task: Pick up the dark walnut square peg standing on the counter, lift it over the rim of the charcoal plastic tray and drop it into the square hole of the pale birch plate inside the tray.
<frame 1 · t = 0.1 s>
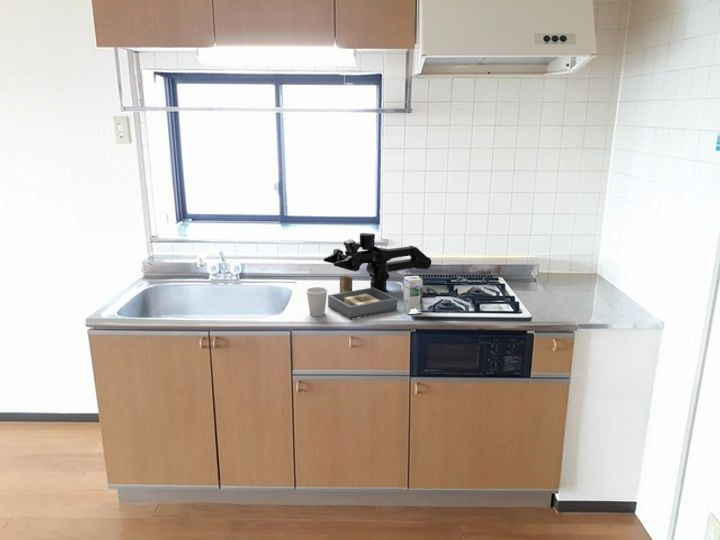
hand: (328, 262, 226), 17 cm above the countertop, tool horizontal, fingers open, 9 cm apart
syrup box: (412, 312, 215), on the countertop
dixie cup: (317, 314, 212), on the countertop
charcoal tray: (362, 308, 219), on the countertop
walnut peg: (346, 296, 234), on the countertop
birch bore plate: (362, 302, 218), in the charcoal tray, point 2 cm above the countertop
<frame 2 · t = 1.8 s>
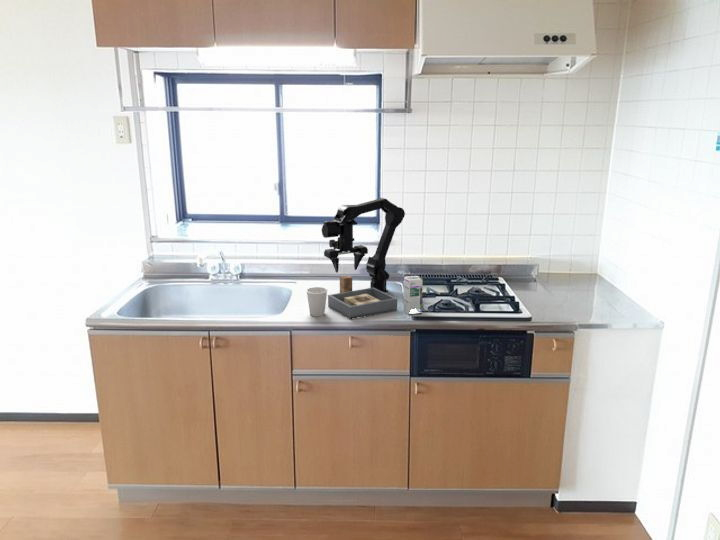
hand: (346, 271, 231), 12 cm above the countertop, tool pointing down, fingers open, 9 cm apart
nothing on the countertop moved.
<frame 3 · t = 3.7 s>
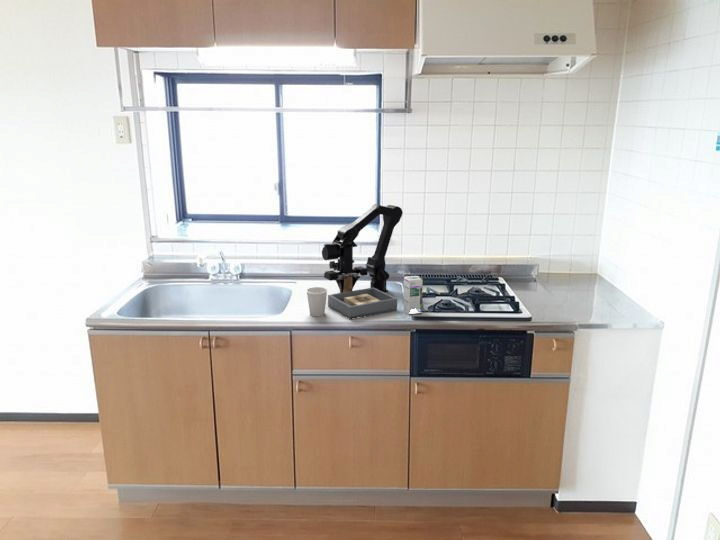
hand: (346, 292, 234), 2 cm above the countertop, tool pointing down, fingers closed on walnut peg, 4 cm apart
walnut peg: (346, 296, 234), on the countertop, touching gripper
everything else where it was.
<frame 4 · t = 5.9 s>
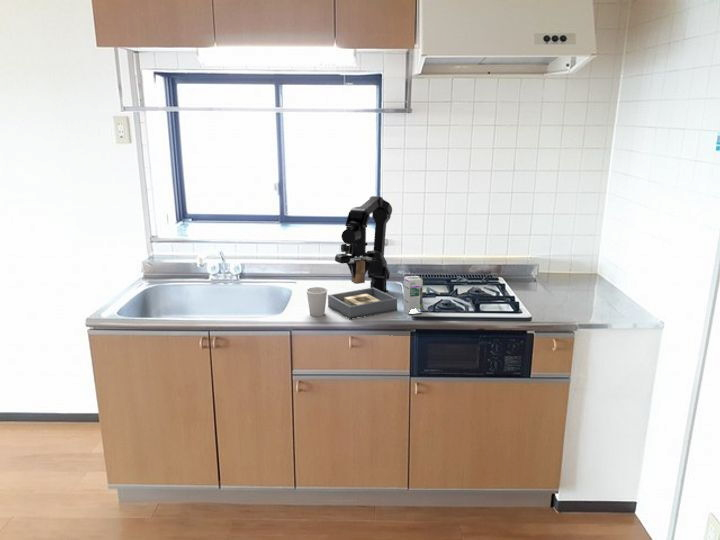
hand: (358, 277, 219), 12 cm above the countertop, tool pointing down, fingers closed on walnut peg, 4 cm apart
walnut peg: (358, 282, 219), point 10 cm above the countertop, touching gripper
everything else where it was.
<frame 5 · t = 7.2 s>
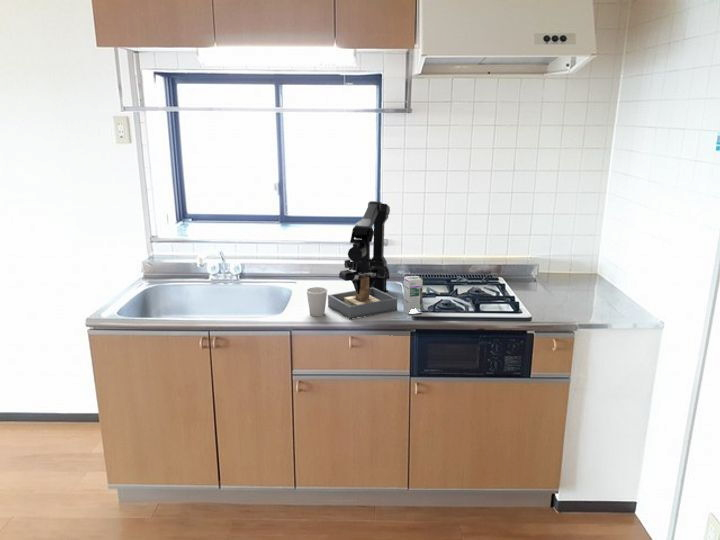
hand: (362, 293, 217), 6 cm above the countertop, tool pointing down, fingers closed on walnut peg, 4 cm apart
walnut peg: (362, 298, 218), point 4 cm above the countertop, touching gripper
everything else where it was.
when the fingers open (5 cm above the countertop, at t = 8.2 s): walnut peg drops 2 cm, resting on charcoal tray.
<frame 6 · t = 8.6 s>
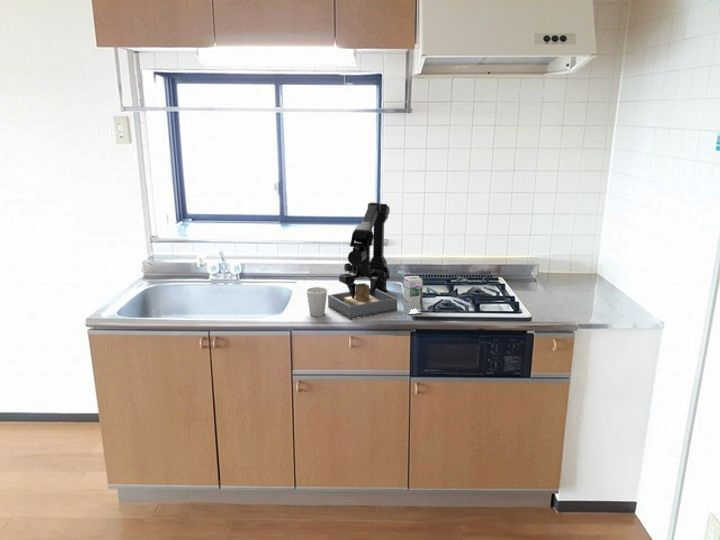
hand: (362, 296, 218), 5 cm above the countertop, tool pointing down, fingers open, 8 cm apart
walnut peg: (362, 306, 219), point 1 cm above the countertop, touching charcoal tray
everything else where it was.
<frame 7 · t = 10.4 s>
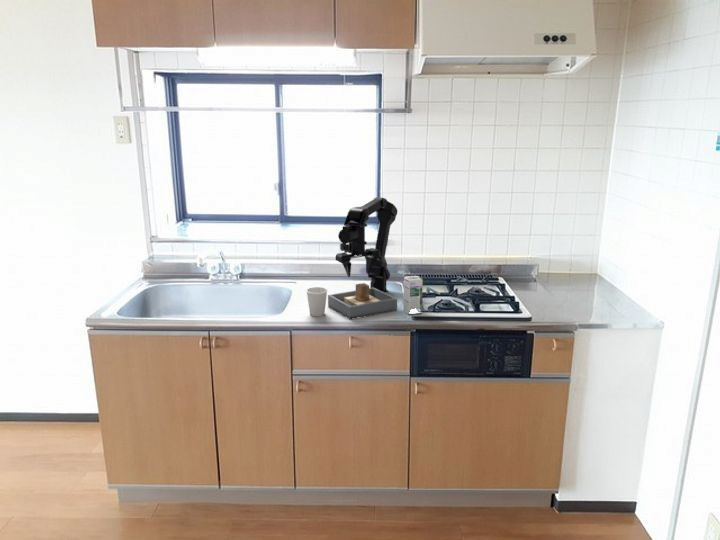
hand: (358, 275, 225), 12 cm above the countertop, tool pointing down, fingers open, 9 cm apart
nothing on the countertop moved.
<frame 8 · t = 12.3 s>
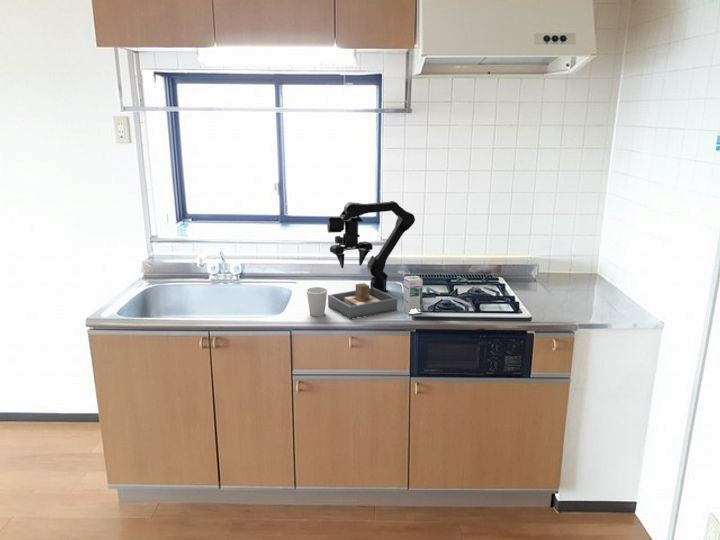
hand: (351, 266, 237), 12 cm above the countertop, tool pointing down, fingers open, 9 cm apart
nothing on the countertop moved.
at the end: walnut peg 0.1 cm off-centre on the birch bore plate, point 1.0 cm above the birch bore plate's base; walnut peg tilted 0°; the gripper is holding nothing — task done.
